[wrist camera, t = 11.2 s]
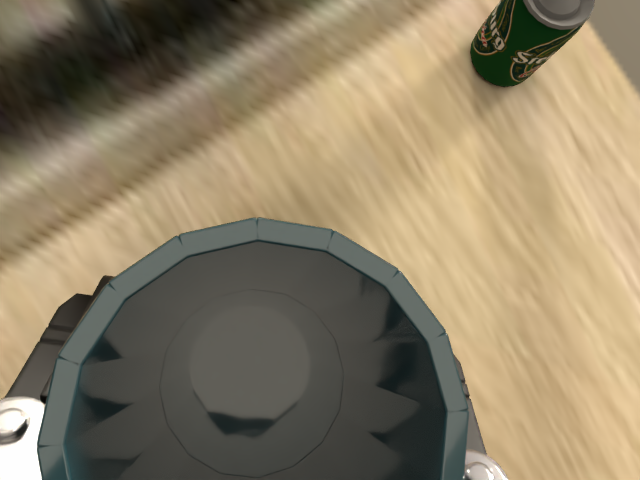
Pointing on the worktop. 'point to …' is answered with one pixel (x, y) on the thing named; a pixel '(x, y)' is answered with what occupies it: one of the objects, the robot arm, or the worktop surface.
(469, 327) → the worktop surface
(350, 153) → the worktop surface
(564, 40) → the beer can
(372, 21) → the worktop surface
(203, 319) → the cup
